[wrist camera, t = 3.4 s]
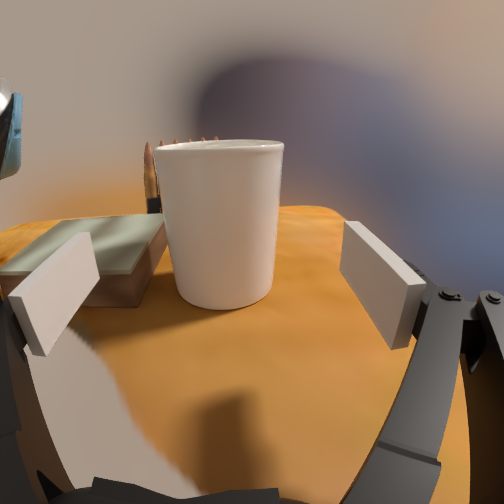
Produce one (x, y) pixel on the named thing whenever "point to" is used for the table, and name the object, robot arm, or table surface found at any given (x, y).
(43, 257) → the stand
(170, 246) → the white cup
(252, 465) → the table surface
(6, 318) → the robot arm
